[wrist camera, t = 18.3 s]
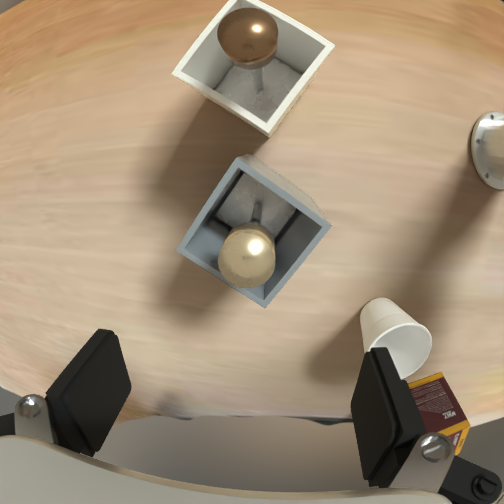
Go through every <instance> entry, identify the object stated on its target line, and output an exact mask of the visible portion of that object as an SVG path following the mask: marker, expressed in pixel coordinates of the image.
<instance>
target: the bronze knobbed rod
mask: <svg viewBox="0 0 504 504" xmlns="http://www.w3.org/2000/svg"><path fill="white" fill-rule="evenodd" d="M217 38H218V41H219V43H220V45H221V47H222V49H223V51H224V53H225V54H226V56H227V58H228V60H229V61H230V62H231V63H232V64H233V65H234V67H233V68H232V69H231V71H230V72H229V73H228V75H227V76H226V77H225V79H224V80H223V81H222V83H221V84H220V85H219V87H218V88H217V90H216V92H218V93H220V94H221V95H223V96H225V97H226V98H228V99H230V100H231V101H233V102H234V103H236V104H238V105H239V106H241V107H242V108H244V109H246V110H247V111H249V112H250V113H252V114H253V115H255V116H256V117H258V118H259V119H261V120H262V121H264V122H265V123H267V122H268V121H269V119H270V118H271V116H272V115H273V114H274V112H275V111H276V110H277V108H278V107H279V106H280V104H281V103H282V102H283V100H284V99H285V98H286V96H287V95H288V94H289V92H290V91H291V90H292V88H293V87H294V86H295V84H296V83H297V82H298V81H299V79H300V78H301V77H302V76H301V75H300V74H298V73H297V72H295V71H294V70H292V69H290V68H289V67H287V66H286V65H284V64H283V63H281V62H279V61H278V60H276V59H274V57H275V55H276V53H277V46H278V27H277V24H276V22H275V20H274V19H273V17H272V16H271V15H269V14H268V13H267V12H265V11H263V10H260V9H257V8H241V9H237V10H234V11H232V12H230V13H229V14H227V15H226V16H225V17H224V18H223V19H222V20H221V22H220V24H219V26H218V30H217Z"/></svg>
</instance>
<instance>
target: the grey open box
mask: <svg viewBox="0 0 504 504" xmlns="http://www.w3.org/2000/svg"><path fill="white" fill-rule="evenodd" d="M245 172H246V173H247V174H249V175H250V176H252V177H253V178H255V179H256V180H257V181H259V182H260V183H262V184H263V185H265V186H266V187H268V188H269V189H270V190H272V191H273V192H275V193H276V194H278V195H279V196H280V197H282V198H283V199H285V200H286V201H287V202H289V203H290V204H292V205H293V206H294V207H296V208H297V209H296V210H295V212H294V213H293V214H292V216H291V217H290V218H289V220H288V221H287V222H286V224H285V225H284V226H283V228H282V229H281V230H280V232H279V233H278V234H277V236H276V237H275V238H274V242H275V269H274V272H273V274H272V276H271V277H270V278H269V279H268V281H266V282H265V283H264V284H262V285H260V286H258V287H255V288H240V287H237V286H235V285H233V284H231V283H230V282H228V281H227V280H226V279H225V278H224V277H223V275H222V274H221V272H220V269H219V266H218V256H219V252H220V250H221V248H222V246H223V243H224V241H225V239H226V237H227V235H228V234H229V232H230V231H231V230H232V229H233V228H232V227H231V226H229V225H228V224H226V223H225V222H224V221H222V220H221V219H219V218H218V217H216V216H215V215H216V214H217V212H218V211H219V209H220V208H221V206H222V205H223V203H224V202H225V200H226V199H227V197H228V196H229V194H230V193H231V191H232V190H233V189H234V187H235V186H236V184H237V183H238V181H239V180H240V178H241V177H242V175H243V174H244V173H245ZM331 226H332V225H331V224H330V222H329V221H328V220H327V218H326V217H325V215H324V214H323V213H322V211H321V210H320V209H319V207H318V206H317V204H316V203H315V202H314V200H313V199H312V198H311V197H310V196H309V195H307V194H306V193H305V192H303V191H302V190H301V189H299V188H298V187H297V186H295V185H294V184H292V183H291V182H290V181H288V180H287V179H285V178H284V177H283V176H281V175H280V174H278V173H277V172H275V171H274V170H273V169H271V168H270V167H268V166H267V165H265V164H264V163H263V162H261V161H260V160H258V159H257V158H255V157H254V156H252V155H251V154H246V155H242V156H239V157H236V159H235V160H234V162H233V163H232V164H231V166H230V167H229V169H228V170H227V172H226V173H225V175H224V176H223V178H222V179H221V181H220V182H219V184H218V185H217V187H216V188H215V190H214V191H213V193H212V194H211V196H210V197H209V199H208V200H207V202H206V203H205V205H204V206H203V208H202V210H201V211H200V213H199V214H198V216H197V217H196V219H195V220H194V222H193V224H192V225H191V227H190V228H189V230H188V232H187V233H186V235H185V236H184V238H183V240H182V241H181V243H180V244H179V246H178V248H177V249H176V251H178V252H179V253H181V254H182V255H184V256H185V257H187V258H188V259H190V260H191V261H193V262H194V263H196V264H197V265H199V266H200V267H202V268H203V269H205V270H206V271H208V272H209V273H211V274H212V275H214V276H215V277H217V278H218V279H220V280H222V281H223V282H225V283H226V284H228V285H229V286H231V287H232V288H234V289H235V290H237V291H239V292H240V293H242V294H243V295H245V296H246V297H248V298H250V299H251V300H253V301H254V302H256V303H257V304H259V305H261V306H262V307H264V308H266V307H267V306H268V304H269V303H270V302H271V301H272V300H273V298H274V297H275V296H276V295H277V293H278V292H279V291H280V290H281V289H282V287H283V286H284V285H285V284H286V283H287V281H288V280H289V279H290V278H291V276H292V275H293V274H294V273H295V272H296V270H297V269H298V268H299V267H300V265H301V264H302V263H303V262H304V260H305V259H306V258H307V257H308V255H309V254H310V253H311V252H312V250H313V249H314V248H315V247H316V245H317V244H318V243H319V242H320V240H321V239H322V238H323V236H324V235H325V234H326V233H327V231H328V230H329V229H330V228H331Z"/></svg>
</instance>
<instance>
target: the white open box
mask: <svg viewBox="0 0 504 504" xmlns="http://www.w3.org/2000/svg"><path fill="white" fill-rule="evenodd" d="M241 8H257V9H260V10H263V11H265V12H267V13H268V14H269V15H271V16H272V17H273V19H274V20H275V22H276V24H277V27H278V46H277V53H276V55H275V57H274V59H276V60H278V61H279V62H281V63H283V64H284V65H286V66H287V67H289V68H290V69H292V70H294V71H295V72H297V73H298V74H300V75H301V76H302V77H301V78H300V79H299V81H298V82H297V83H296V84H295V86H294V87H293V88H292V90H291V91H290V92H289V94H288V95H287V96H286V98H285V99H284V100H283V102H282V103H281V104H280V106H279V107H278V108H277V110H276V111H275V112H274V114H273V115H272V116H271V118H270V119H269V121H268V122H267V123H265V122H264V121H262V120H261V119H259V118H258V117H256V116H255V115H253V114H252V113H250V112H249V111H247V110H246V109H244V108H242V107H241V106H239V105H238V104H236V103H234V102H233V101H231V100H230V99H228V98H226V97H225V96H223V95H221V94H220V93H218V92H216V90H217V88H218V87H219V85H220V84H221V83H222V81H223V80H224V79H225V77H226V76H227V75H228V73H229V72H230V71H231V69H232V68H233V67H234V65H233V64H232V63H231V62H230V61H229V60H228V58H227V56H226V54H225V53H224V51H223V49H222V47H221V45H220V43H219V41H218V38H217V30H218V26H219V24H220V22H221V20H222V19H223V18H224V17H225V16H226V15H227V14H229V13H230V12H232V11H234V10H237V9H241ZM334 47H335V45H334V44H332V43H331V42H329V41H328V40H326V39H325V38H323V37H322V36H320V35H319V34H317V33H316V32H314V31H312V30H311V29H309V28H307V27H306V26H304V25H303V24H301V23H299V22H298V21H296V20H294V19H292V18H291V17H289V16H287V15H285V14H284V13H282V12H280V11H278V10H276V9H274V8H272V7H271V6H269V5H267V4H265V3H263V2H261V1H259V0H229V1H228V2H227V4H226V5H225V6H224V7H223V8H222V9H221V10H220V12H219V13H218V14H217V15H216V16H215V17H214V19H213V20H212V21H211V22H210V23H209V25H208V26H207V27H206V28H205V30H204V31H203V32H202V33H201V35H200V36H199V37H198V39H197V40H196V41H195V42H194V44H193V45H192V46H191V48H190V49H189V50H188V52H187V53H186V54H185V56H184V57H183V58H182V60H181V61H180V63H179V64H178V65H177V67H176V68H175V70H174V71H173V73H172V75H174V76H175V77H177V78H178V79H180V80H181V81H183V82H184V83H186V84H187V85H189V86H190V87H192V88H193V89H195V90H196V91H198V92H199V93H200V94H202V95H203V96H205V97H206V98H208V99H210V100H211V101H213V102H214V103H216V104H218V105H219V106H221V107H223V108H224V109H226V110H227V111H229V112H231V113H232V114H234V115H235V116H237V117H239V118H240V119H242V120H243V121H245V122H246V123H248V124H249V125H251V126H252V127H254V128H255V129H257V130H258V131H260V132H261V133H263V134H264V135H266V136H267V137H269V138H270V137H271V135H272V134H273V133H274V131H275V130H276V128H277V127H278V126H279V124H280V123H281V122H282V120H283V119H284V118H285V116H286V115H287V113H288V112H289V111H290V109H291V108H292V107H293V105H294V104H295V103H296V101H297V100H298V99H299V97H300V96H301V95H302V94H303V92H304V91H305V90H306V88H307V87H308V86H309V84H310V83H311V82H312V81H313V79H314V78H315V76H316V74H317V73H318V71H319V70H320V68H321V67H322V65H323V64H324V62H325V61H326V59H327V58H328V56H329V54H330V53H331V51H332V50H333V48H334Z"/></svg>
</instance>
